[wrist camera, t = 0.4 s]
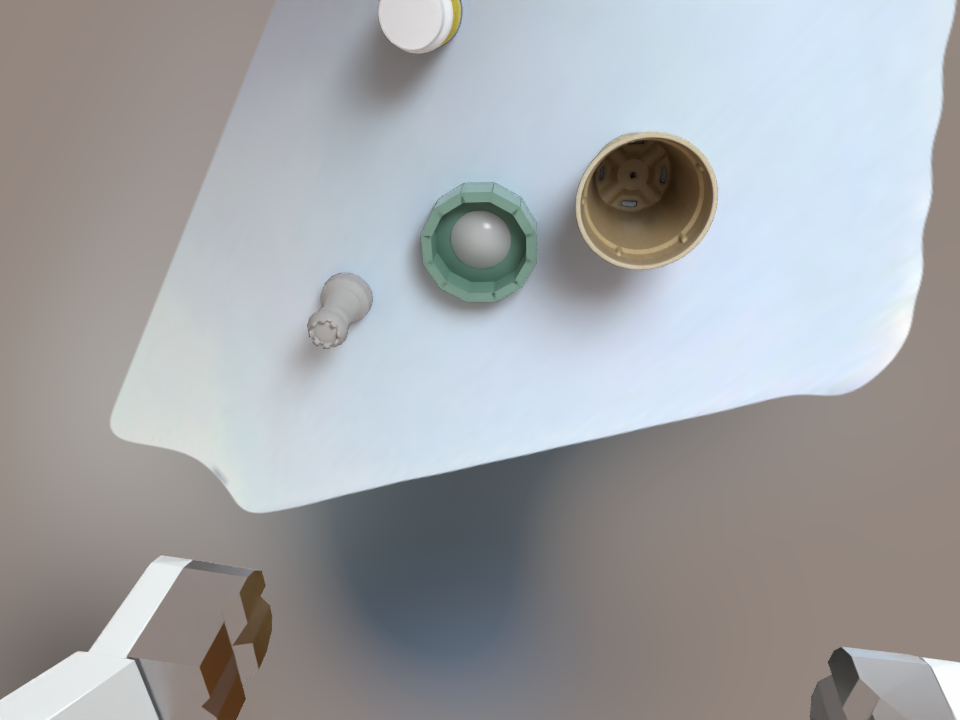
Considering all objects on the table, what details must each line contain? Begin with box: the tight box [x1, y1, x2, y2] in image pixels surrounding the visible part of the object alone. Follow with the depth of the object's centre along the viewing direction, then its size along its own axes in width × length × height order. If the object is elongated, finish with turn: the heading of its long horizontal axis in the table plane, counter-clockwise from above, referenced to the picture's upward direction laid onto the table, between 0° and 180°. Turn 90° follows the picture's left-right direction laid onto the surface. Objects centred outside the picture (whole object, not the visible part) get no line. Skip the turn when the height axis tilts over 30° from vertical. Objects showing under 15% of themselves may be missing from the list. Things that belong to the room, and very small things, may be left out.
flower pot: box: [575, 132, 718, 270], centre depth 49 cm, size 9×9×9 cm
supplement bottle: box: [378, 0, 462, 54], centre depth 45 cm, size 5×5×8 cm
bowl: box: [421, 182, 537, 302], centre depth 55 cm, size 9×9×3 cm
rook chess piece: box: [307, 273, 373, 349], centre depth 56 cm, size 4×4×8 cm
